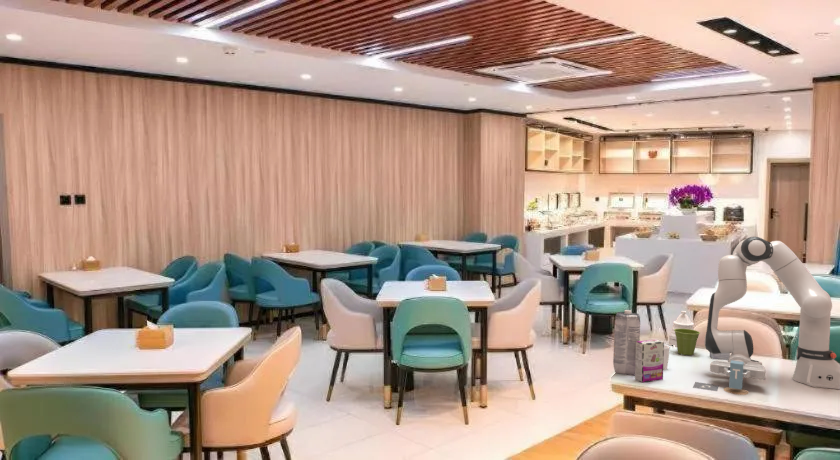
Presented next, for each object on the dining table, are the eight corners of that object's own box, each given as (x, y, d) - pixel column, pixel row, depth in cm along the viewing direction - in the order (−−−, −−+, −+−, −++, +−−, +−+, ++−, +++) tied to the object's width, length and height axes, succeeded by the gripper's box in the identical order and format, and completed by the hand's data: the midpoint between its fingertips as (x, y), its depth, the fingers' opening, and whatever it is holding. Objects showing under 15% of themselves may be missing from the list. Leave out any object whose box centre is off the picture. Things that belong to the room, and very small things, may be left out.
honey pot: (695, 349, 327) (697, 314, 326) (668, 346, 332) (670, 311, 331) (695, 343, 339) (696, 309, 338) (668, 341, 344) (670, 307, 343)
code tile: (719, 386, 266) (719, 385, 266) (717, 392, 258) (717, 391, 258) (695, 382, 270) (695, 381, 270) (692, 388, 262) (692, 387, 262)
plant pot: (697, 358, 310) (698, 334, 309) (671, 354, 316) (672, 331, 315) (700, 352, 320) (701, 330, 320) (674, 349, 326) (676, 327, 325)
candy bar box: (654, 376, 277) (656, 339, 276) (663, 380, 273) (665, 341, 272) (633, 379, 273) (635, 340, 272) (642, 382, 269) (643, 343, 268)
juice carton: (638, 376, 278) (640, 313, 276) (612, 373, 281) (614, 311, 279) (638, 370, 286) (640, 310, 284) (613, 368, 290) (615, 308, 288)
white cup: (650, 370, 288) (651, 347, 287) (649, 365, 296) (649, 343, 295) (669, 371, 286) (670, 349, 286) (667, 366, 294) (668, 345, 293)
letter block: (742, 386, 259) (743, 361, 259) (741, 389, 255) (743, 364, 255) (729, 384, 261) (731, 360, 261) (729, 387, 257) (730, 362, 257)
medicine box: (726, 357, 313) (727, 339, 312) (729, 359, 308) (730, 341, 308) (709, 356, 314) (710, 338, 313) (712, 359, 309) (713, 341, 309)
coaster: (749, 390, 261) (749, 389, 261) (748, 396, 253) (748, 395, 253) (724, 386, 265) (724, 386, 265) (722, 392, 257) (722, 391, 257)
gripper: (711, 355, 275) (708, 362, 263) (766, 362, 265) (765, 370, 253) (710, 370, 275) (707, 378, 263) (765, 377, 265) (764, 386, 253)
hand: (736, 374), depth 258 cm, fingers closed on letter block, 4 cm apart
